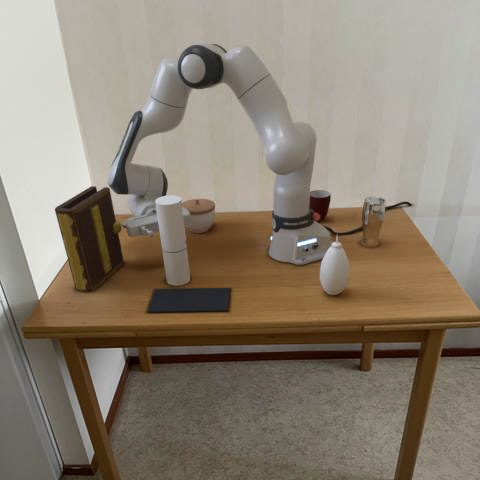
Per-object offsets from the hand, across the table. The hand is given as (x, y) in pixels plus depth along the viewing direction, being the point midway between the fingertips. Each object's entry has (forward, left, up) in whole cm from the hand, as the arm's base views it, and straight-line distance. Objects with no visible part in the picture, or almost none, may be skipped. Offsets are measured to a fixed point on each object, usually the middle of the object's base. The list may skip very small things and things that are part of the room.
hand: (166, 231), depth 145 cm
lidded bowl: (-15, -29, -14) cm, 35 cm away
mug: (-57, -21, -14) cm, 62 cm away
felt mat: (-2, +19, -13) cm, 24 cm away
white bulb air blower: (-41, +29, -14) cm, 52 cm away
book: (+21, -6, -14) cm, 26 cm away
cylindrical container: (-1, +6, -14) cm, 15 cm away
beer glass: (-66, +4, -14) cm, 68 cm away
